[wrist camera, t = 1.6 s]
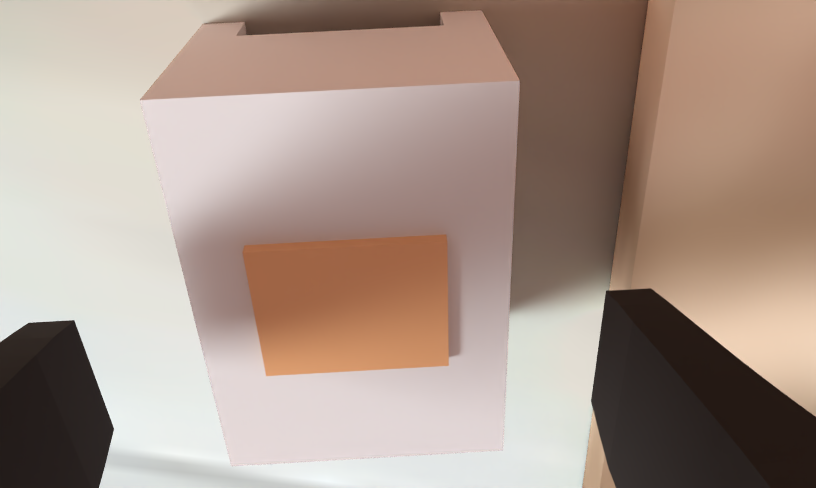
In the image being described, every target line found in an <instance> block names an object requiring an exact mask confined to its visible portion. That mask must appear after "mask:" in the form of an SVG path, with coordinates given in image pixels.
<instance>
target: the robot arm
mask: <svg viewBox="0 0 816 488" xmlns="http://www.w3.org/2000/svg"><path fill="white" fill-rule="evenodd" d="M591 402H592V406H593V411H594V415H595V419H596V423H597V427H598V431H599V435H600V439H601V442H602V446H603V450H604V454H605V457H606V461H607V465H608V468H609V471H610V473H611V476H612V479H613V481H614V484H615V487H616V488H816V416H814V415H813V414H811V413H810V412H809V411H807V410H806V409H804V408H803V407H802V406H800V405H799V404H798V403H796V402H795V401H794V400H792V399H791V398H790V397H788V396H787V395H785V394H784V393H783V392H781V391H780V390H779V389H777V388H776V387H775V386H773V385H772V384H771V383H769V382H768V381H767V380H766V379H764V378H763V377H762V376H760V375H759V374H758V373H757V372H755V371H754V370H753V369H751V368H750V367H749V366H747V365H746V364H745V363H744V362H742V361H741V360H740V359H739V358H737V357H736V356H735V355H734V354H732V353H731V352H730V351H729V350H727V349H726V348H725V347H724V346H722V345H721V344H720V343H719V342H717V341H716V340H715V339H714V338H712V337H711V336H710V335H709V334H707V333H706V332H705V331H704V330H703V329H701V328H700V327H699V326H698V325H696V324H695V323H694V322H693V321H692V320H690V319H689V318H688V317H687V316H685V315H684V314H683V313H682V312H680V311H679V310H678V309H677V308H676V307H674V306H673V305H672V304H671V303H669V302H668V301H667V300H666V299H664V298H663V297H662V296H660V295H659V294H658V293H656V292H655V291H654V290H653V289H651V288H647V289H629V290H611V291H606V296H605V303H604V311H603V318H602V325H601V333H600V340H599V347H598V355H597V362H596V369H595V377H594V384H593V392H592V399H591ZM113 431H114V428H113V425H112V422H111V419H110V417H109V414H108V411H107V409H106V406H105V403H104V400H103V398H102V395H101V392H100V390H99V387H98V384H97V381H96V379H95V376H94V373H93V370H92V368H91V365H90V362H89V360H88V357H87V354H86V351H85V349H84V346H83V343H82V341H81V338H80V335H79V332H78V330H77V327H76V324H75V321H74V320H72V321H54V322H36V323H28V324H26V325H25V326H23V327H22V328H20V329H19V330H17V331H16V332H14V333H13V334H11V335H10V336H8V337H7V338H6V339H4V340H3V341H1V342H0V488H99V485H100V482H101V478H102V474H103V471H104V467H105V463H106V459H107V455H108V451H109V447H110V443H111V439H112V435H113Z"/></svg>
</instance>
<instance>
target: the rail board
mask: <svg viewBox="0 0 816 488" xmlns="http://www.w3.org/2000/svg"><path fill="white" fill-rule="evenodd" d="M647 288H651V289H653V290H654V291H655V292H656V293H658V294H659V295H660V296H662V297H663V298H664V299H666V300H667V301H668V302H669V303H671V304H672V305H673V306H674V307H676V308H677V309H678V310H679V311H680V312H682V313H683V314H684V315H685V316H687V317H688V318H689V319H690V320H692V321H693V322H694V323H695V324H696V325H698V326H699V327H700V328H701V329H703V330H704V331H705V332H706V333H707V334H709V335H710V336H711V337H712V338H714V339H715V340H716V341H717V342H719V343H720V344H721V345H722V346H724V347H725V348H726V349H727V350H729V351H730V352H731V353H732V354H734V355H735V356H736V357H737V358H739V359H740V360H741V361H742V362H744V363H745V364H746V365H747V366H749V367H750V368H751V369H753V370H754V371H755V372H757V373H758V374H759V375H760V376H762V377H763V378H764V379H766V380H767V381H768V382H769V383H771V384H772V385H773V386H775V387H776V388H777V389H779V390H780V391H781V392H783V393H784V394H785V395H787V396H788V397H790V398H791V399H792V400H794V401H795V402H796V403H798V404H799V405H800V406H802V407H803V408H804V409H806V410H807V411H809V412H810V413H811V414H813V415H814V416H816V0H649V1H648V8H647V16H646V23H645V30H644V38H643V45H642V52H641V60H640V67H639V75H638V82H637V89H636V97H635V104H634V111H633V119H632V126H631V133H630V141H629V148H628V155H627V163H626V170H625V178H624V185H623V192H622V200H621V207H620V214H619V222H618V229H617V236H616V244H615V251H614V258H613V266H612V273H611V281H610V288H609V291H611V290H629V289H647ZM582 488H616V487H615V484H614V481H613V479H612V476H611V473H610V471H609V468H608V465H607V461H606V457H605V454H604V450H603V446H602V442H601V439H600V435H599V431H598V427H597V423H596V419H595V415H594V411H593V413H592V420H591V428H590V435H589V442H588V450H587V457H586V465H585V472H584V479H583V487H582Z"/></svg>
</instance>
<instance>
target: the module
mask: <svg viewBox="0 0 816 488" xmlns="http://www.w3.org/2000/svg"><path fill="white" fill-rule="evenodd" d="M519 90H520V80H519V78H518V76H517V74H516V73H515V71H514V69H513V67H512V65H511V63H510V62H509V60H508V58H507V56H506V54H505V52H504V51H503V49H502V47H501V45H500V43H499V41H498V40H497V38H496V36H495V34H494V32H493V30H492V28H491V27H490V25H489V23H488V21H487V19H486V17H485V16H484V14H483V12H482V10H474V11H454V12H440V26H422V27H402V28H383V29H363V30H343V31H323V32H303V33H283V34H263V35H247V33H246V27H245V22H234V23H214V24H202V26H201V27H200V28H199V29H198V30H197V32H196V33H195V34H194V35H193V36H192V38H191V39H190V40H189V41H188V43H187V44H186V45H185V46H184V47H183V49H182V50H181V51H180V52H179V53H178V55H177V56H176V57H175V58H174V59H173V61H172V62H171V63H170V64H169V65H168V67H167V68H166V69H165V70H164V72H163V73H162V74H161V75H160V76H159V78H158V79H157V80H156V81H155V82H154V84H153V85H152V86H151V87H150V88H149V90H148V91H147V92H146V93H145V95H144V96H143V97H142V98H141V99H140V103H141V107H142V111H143V115H144V119H145V123H146V127H147V131H148V135H149V139H150V143H151V147H152V151H153V155H154V159H155V163H156V167H157V171H158V175H159V179H160V183H161V187H162V191H163V195H164V199H165V203H166V207H167V211H168V215H169V219H170V223H171V227H172V231H173V235H174V239H175V243H176V247H177V251H178V255H179V259H180V263H181V267H182V271H183V275H184V279H185V283H186V287H187V291H188V295H189V299H190V303H191V307H192V311H193V315H194V319H195V323H196V327H197V331H198V335H199V339H200V343H201V347H202V351H203V355H204V359H205V363H206V367H207V371H208V375H209V379H210V383H211V387H212V391H213V395H214V399H215V403H216V407H217V411H218V415H219V419H220V423H221V427H222V431H223V435H224V439H225V443H226V447H227V451H228V455H229V459H230V463H231V466H243V465H260V464H277V463H294V462H312V461H329V460H346V459H363V458H380V457H397V456H415V455H432V454H449V453H466V452H483V451H500V450H503V440H504V418H505V396H506V374H507V353H508V331H509V309H510V287H511V265H512V243H513V221H514V199H515V178H516V156H517V134H518V112H519Z"/></svg>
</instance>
